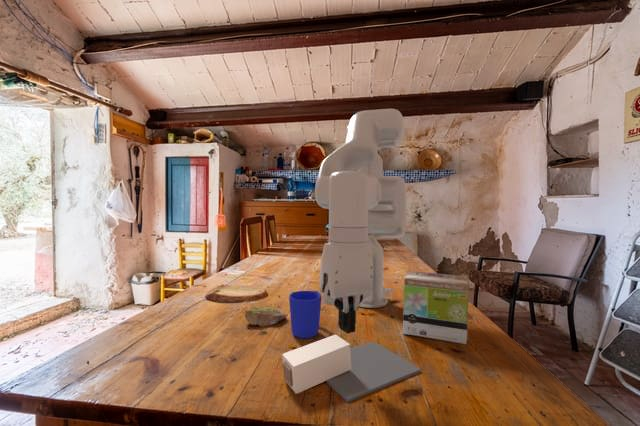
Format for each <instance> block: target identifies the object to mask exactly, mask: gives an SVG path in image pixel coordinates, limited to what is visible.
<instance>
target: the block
mask: <svg viewBox="0 0 640 426" xmlns="http://www.w3.org/2000/svg"><path fill="white" fill-rule="evenodd" d="M350 348H351V344H350V343H349V342H348V341H346V340H344V339H343V338H341V336H338V335H337V334H333V335H331V336H327V337H325V338H322V339H320V340H317V341H314V342H311V343H308V344H306V345H305V344H304V345H303V346H299V347H298V348H295V349H293V350H289V351H287V352H283V353H282V354H281V357H282V358H281V359H282V368H283V371H282V372H283V379H284V381H285V383H287V384H288V386H289V387H290V389H291V390H292V391H293V392H294V393H295V394H300V393H302V392H304V391H306V390H308V389H310V388H312V387H315V386H317V385H319V384H322V383H324V382H325V381H326V380H329V379H331V378H333V377H335V376H337V375H340V374H342V373H344V372H346V371H349V370H351V369H352V367H351V353H350Z"/></svg>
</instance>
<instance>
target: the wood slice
mask: <svg viewBox="0 0 640 426" xmlns="http://www.w3.org/2000/svg"><path fill="white" fill-rule="evenodd" d="M268 296H269V293H268V291H267V289H266V288H265V287H262V286H257V285H256V286H255V285H243V284H242V285H241V284H239V285H237V284H236V285H235V284H223V283H222V284H220V285H217V286H215V287H213V288H212V289H210V290H209V291H208V292H207V293H206V294H205V296H204V299H205V298H206V299H205V300H209V299H210V300H209V301H212V302H216V301H218V302H217V303H236V302H237V301H238V302H250V301H256V300H260V299H263V298H266V297H268ZM238 302H237V303H238Z"/></svg>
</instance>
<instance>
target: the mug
mask: <svg viewBox="0 0 640 426" xmlns="http://www.w3.org/2000/svg"><path fill="white" fill-rule="evenodd" d="M288 298H289V299H288V300H289V314H290V325H291V328H290V329H291V333H292V335H293V336H294V337H296V338H299V339H312V338H314V337H316V336H317V335H318V333H319V330H320V319H321V318H320V317H321V311H322V299H323V295H322V294H321V292H319V291H318V290H298V291H294V292H292V293H290V294H289V296H288Z"/></svg>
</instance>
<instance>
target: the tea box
mask: <svg viewBox="0 0 640 426" xmlns="http://www.w3.org/2000/svg"><path fill="white" fill-rule="evenodd" d="M405 273H406V274H405V277H404V284H403V309H402V310H403V311H402V334H403V335H411V336H416V337H422V338H429V339H434V340H440V341H445V342H450V343H456V344H460V343H461V345H466V344H467V342H468V341H467V340H468V330H469V329H468V326H469V321H468V320H469V297H470V293H469V292H470V284H469V283H468V281H467V279H466V277H465V275H457V274H446V273H445V274H444V273H434V272H426V271H425V272H424V271H413V270H406V272H405Z"/></svg>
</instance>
